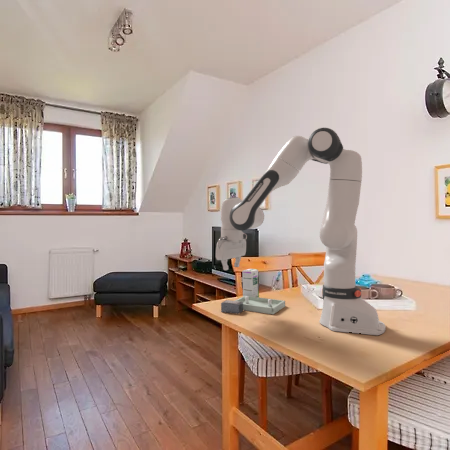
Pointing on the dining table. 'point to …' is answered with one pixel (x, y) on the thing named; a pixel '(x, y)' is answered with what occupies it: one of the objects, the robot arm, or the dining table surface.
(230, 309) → the grey rectangular block
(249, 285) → the syrup box
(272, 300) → the tray
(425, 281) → the dining table surface
